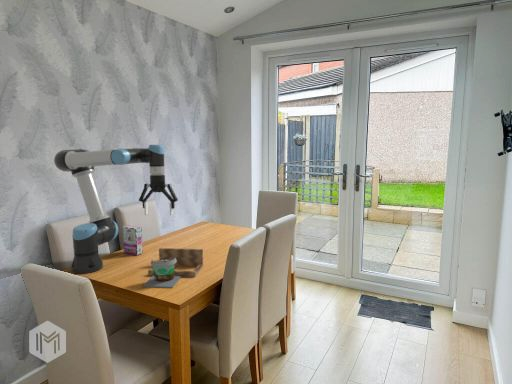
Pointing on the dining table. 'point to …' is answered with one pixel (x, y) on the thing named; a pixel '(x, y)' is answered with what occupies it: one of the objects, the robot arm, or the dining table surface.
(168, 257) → the wooden frame
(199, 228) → the dining table surface
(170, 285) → the mat
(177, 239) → the dining table surface
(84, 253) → the robot arm
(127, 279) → the dining table surface
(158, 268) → the food container
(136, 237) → the candy bar box
